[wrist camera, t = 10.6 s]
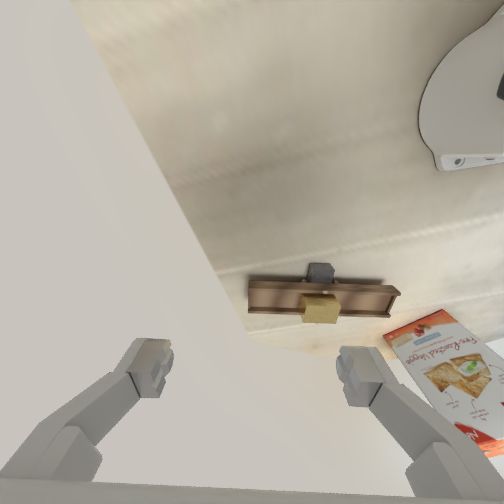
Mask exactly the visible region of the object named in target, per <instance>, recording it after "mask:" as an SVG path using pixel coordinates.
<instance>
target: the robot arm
mask: <svg viewBox="0 0 504 504" xmlns="http://www.w3.org/2000/svg"><path fill="white" fill-rule="evenodd" d="M419 127H420V132H421V135H422V138H423V140H424V142H425V143H426V145H427V146H428V147H429V148H430V149H431V150H432V152H433V153H434V157H435V163H436V167H437V169H438V170H439V171H452V170H459V169H465V168H471V167H478V166H484V165H490V164H497V163H503V162H504V4H503V5H502V7H501V8H500V9H499V10H498V11H497V12H496V13H495V14H494V15H493V17H492V18H491V19H490V20H489V21H488V22H487V23H486V24H485V25H484V26H482V27H481V28H479V29H478V30H476V31H475V32H473V33H472V34H470V35H468V36H467V37H466V38H464V39H463V40H462V41H461V42H459V43H458V44H457V45H456V46H455V47H454V48H453V49H452V50H451V51H450V52H449V53H448V54H447V55H446V56H445V58H444V59H443V60H442V61H441V63H440V64H439V65H438V67H437V68H436V70H435V72H434V73H433V75H432V77H431V78H430V80H429V82H428V85H427V87H426V89H425V92H424V94H423V98H422V101H421V106H420V112H419ZM456 160H457V161H456ZM455 161H456V163H455ZM170 346H171V342H170V340H166V339H150V338H136V339H135V340H134V341H133V342H132V344H131V345H130V347H129V348H128V350H127V351H126V353H125V354H124V356H123V357H122V359H121V360H120V362H119V363H118V365H117V367H116V368H115V369H114V371H113V372H109V373H108V374H106V375H105V376H103V377H102V378H101V379H99V380H98V381H96V382H95V383H94V384H92V385H91V386H90V387H88V388H87V389H86V390H84V391H83V392H81V393H80V394H79V395H77V396H76V397H74V398H73V399H72V400H70V401H69V402H68V403H66V404H65V405H64V406H62V407H61V408H59V409H58V410H57V411H55V412H54V413H52V414H51V415H50V416H48V417H47V418H46V419H44V420H43V421H41V422H40V423H39V424H38V425H37V426H36V428H35V429H34V430H33V431H32V433H31V434H30V435H29V436H28V437H27V439H26V440H25V441H24V443H23V444H22V445H21V446H20V447H19V449H18V450H17V451H16V452H15V453H14V455H13V456H12V457H11V458H10V460H9V461H8V462H7V463H6V465H5V466H4V467H3V468H2V470H1V471H0V504H504V480H503V478H502V477H501V476H500V474H499V473H498V472H497V470H496V469H495V468H494V466H493V465H492V464H491V462H490V461H489V460H488V458H487V457H486V456H485V454H484V453H483V452H482V450H481V449H480V448H479V446H478V445H477V444H476V443H475V442H474V441H473V440H472V439H470V438H469V437H468V436H467V435H466V434H464V433H463V432H462V431H461V430H459V429H458V428H457V427H456V426H454V425H453V424H452V423H451V422H449V421H448V420H447V419H446V418H444V417H443V416H442V415H441V414H439V413H438V412H437V411H436V410H435V409H433V408H432V407H431V406H429V405H428V404H427V403H426V402H425V401H423V400H422V399H421V398H420V397H418V396H417V395H416V394H415V393H413V392H412V391H411V390H410V389H409V388H407V387H406V386H405V385H404V384H399V382H398V381H397V379H396V377H395V376H394V374H393V373H392V371H391V369H390V368H389V366H388V364H387V363H386V361H385V360H384V358H383V356H382V355H381V353H380V352H379V350H378V349H377V348H376V347H363V346H342V347H341V348H340V350H339V351H340V354H341V355H339V356H338V357H337V360H336V370H337V374H338V377H339V379H340V380H341V381H342V382H343V383H344V387H343V391H344V393H345V396H346V399H347V402H348V404H349V406H356V407H369V409H370V411H371V412H372V413H373V414H374V415H375V416H376V418H377V419H378V420H379V421H380V422H381V423H382V425H383V426H384V427H385V428H386V429H387V430H388V432H389V433H390V434H391V435H392V436H393V437H394V438H395V440H396V441H397V442H398V443H399V444H400V446H401V447H402V448H403V449H404V450H405V451H406V453H407V454H408V455H409V456H410V457H411V458H412V460H413V461H414V462H413V463H412V464H411V465H410V466H409V467H408V468H407V469H406V472H405V474H406V476H407V479H408V481H409V483H410V485H411V488H412V490H413V492H414V494H415V496H416V497H401V496H400V497H399V496H380V495H359V494H338V493H336V494H335V493H316V492H296V491H275V490H254V489H232V488H211V487H190V486H168V485H148V484H126V483H105V482H92V480H93V478H94V476H95V474H96V472H97V470H98V468H99V466H100V463H101V462H102V455H101V454H100V452H99V451H98V450H97V449H96V447H95V446H96V445H97V444H98V443H99V442H100V441H101V440H102V438H103V437H104V436H105V435H106V434H107V433H108V432H109V431H110V430H111V429H112V428H113V427H114V426H115V425H116V424H117V423H118V421H120V420H121V419H122V417H123V416H124V415H125V414H126V413H127V412H128V411H129V410H130V409H131V408H132V407H133V406H134V405H135V404H136V403H137V402H138V400H139V399H140V398H159V397H160V395H161V393H162V390H163V387H164V385H165V383H166V381H165V378H164V377H165V376H166V375H167V374H168V373H169V372H170V370H171V367H172V364H173V359H174V354H173V350H171V349H170Z"/></svg>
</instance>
